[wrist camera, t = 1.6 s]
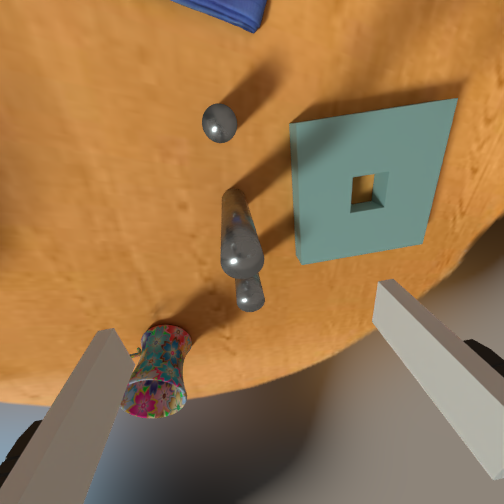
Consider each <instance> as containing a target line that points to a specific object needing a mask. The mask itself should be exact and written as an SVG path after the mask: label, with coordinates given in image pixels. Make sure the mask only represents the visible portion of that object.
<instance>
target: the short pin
mask: <svg viewBox="0 0 504 504" xmlns="http://www.w3.org/2000/svg"><path fill="white" fill-rule="evenodd" d="M202 126H203V130H204V132H205V134H206V135H207V137H208V138H209V139H211V140H212V141H214V142H217V143H225V142H227V141H229V140H230V139H232V138H233V136H234V135H235V133H236V129H237V120H236V116H235V114H234V112H233V111H232V110H231V109H230V108H229V107H228V106H226V105H224V104H213V105H211V106H209V107H208V108H207V109H206V111H205V112H204V114H203V118H202Z"/></svg>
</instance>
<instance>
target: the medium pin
mask: <svg viewBox="0 0 504 504" xmlns="http://www.w3.org/2000/svg"><path fill="white" fill-rule="evenodd" d="M235 284H236V297H237V305H238V307H239V308H240V309H241V310H243V311H246V312H254V311H257V310H259V309H260V308H261V307H262V306H263V305H264V302H265V298H264V294H263V290H262V286H261V281H260V277H259V273H257V274H256V275H254V276H253V277H250V278H247V279H236V278H235Z"/></svg>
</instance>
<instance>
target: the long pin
mask: <svg viewBox="0 0 504 504" xmlns="http://www.w3.org/2000/svg"><path fill="white" fill-rule="evenodd" d="M263 264H264V255H263V252H262V248H261V245H260V242H259V239H258V236H257V233H256V229H255V226H254V223H253V220H252V217H251V213H250V210H249V207H248V204H247V201H246V197H245V195H244V193H243V192H242V191H240V190H239V189H229V190H227V191H226V192H225V193H224V194H223V196H222V218H221V266H222V269H223V270H224V272H225V273H226V274H227V275H229V276H230V277H233V278H236V279H247V278H250V277H253V276H254V275H256V274H257V273H258V272H259V271H260V270H261V269H262V267H263Z"/></svg>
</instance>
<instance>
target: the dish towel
mask: <svg viewBox="0 0 504 504" xmlns="http://www.w3.org/2000/svg"><path fill="white" fill-rule="evenodd" d="M171 1H173V2H176V3H178V4H181V5H183V6H186V7H189V8H191V9H194V10H197V11H200V12H203V13H206V14H208V15H210V16H213V17H216V18H218V19H221V20H224V21H226V22H228V23H231V24H233V25H235V26H239V27H241V28H243V29H244V30H246V31H249V32H251V33H255V32H256V31H257V28H259V27H260V24H261V21H262V17H263V13H264V9H265V5H266V2H267V0H171Z"/></svg>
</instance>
